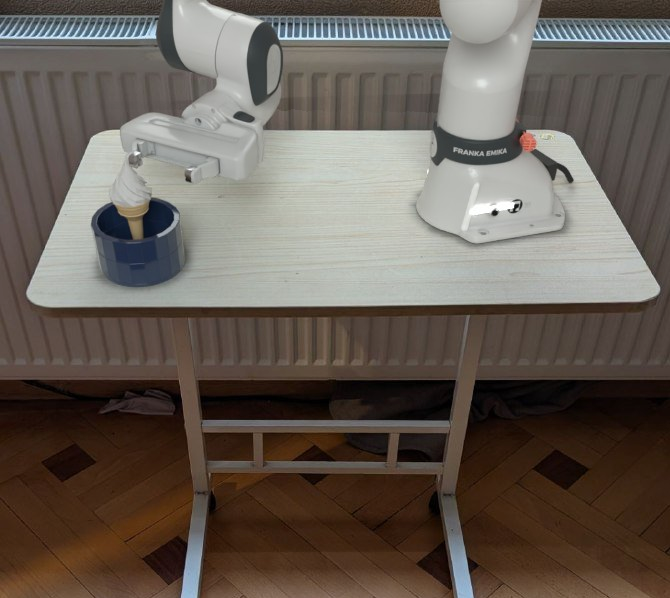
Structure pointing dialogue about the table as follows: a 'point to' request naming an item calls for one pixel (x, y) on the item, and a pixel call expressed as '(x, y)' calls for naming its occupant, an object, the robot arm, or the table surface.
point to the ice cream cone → (131, 198)
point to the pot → (139, 245)
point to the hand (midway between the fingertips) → (159, 170)
